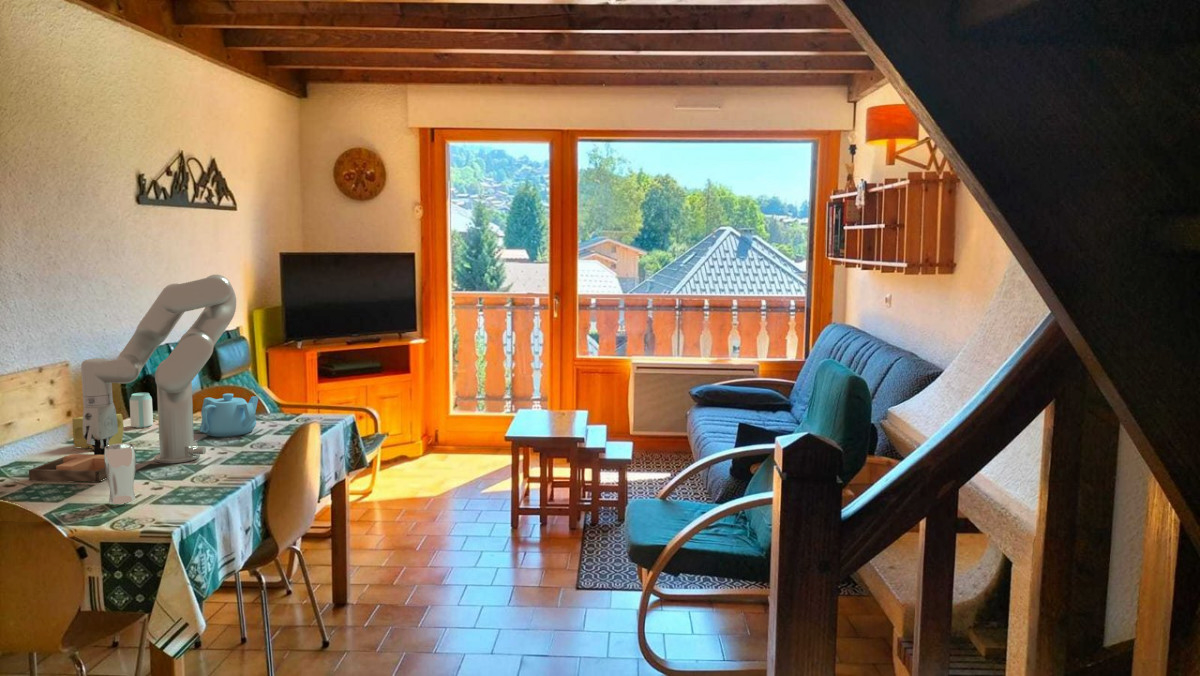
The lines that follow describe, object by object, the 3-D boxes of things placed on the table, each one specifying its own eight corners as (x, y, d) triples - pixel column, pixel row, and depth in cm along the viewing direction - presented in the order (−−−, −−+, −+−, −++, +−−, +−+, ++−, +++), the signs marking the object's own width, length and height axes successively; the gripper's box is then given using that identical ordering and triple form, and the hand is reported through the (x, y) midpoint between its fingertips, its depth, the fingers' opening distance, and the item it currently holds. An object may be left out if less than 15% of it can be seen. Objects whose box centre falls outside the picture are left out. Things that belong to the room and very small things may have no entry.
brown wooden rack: (132, 467, 246) (131, 457, 245) (99, 482, 230) (98, 471, 230) (66, 465, 246) (65, 455, 246) (29, 480, 231) (28, 470, 230)
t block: (118, 468, 244) (117, 455, 244) (88, 480, 231) (87, 467, 231) (73, 466, 245) (72, 453, 245) (41, 479, 232) (40, 465, 232)
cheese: (100, 450, 264) (98, 420, 263) (71, 448, 267) (69, 418, 265) (124, 443, 275) (123, 413, 273) (97, 441, 277) (95, 411, 276)
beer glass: (143, 498, 216) (140, 442, 215) (128, 507, 210) (125, 449, 208) (116, 498, 216) (113, 442, 214) (100, 507, 209) (97, 449, 208)
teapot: (253, 436, 286) (252, 397, 284) (193, 439, 280) (191, 399, 279) (259, 425, 304) (258, 388, 302) (202, 428, 298) (201, 390, 297)
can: (131, 425, 300) (130, 392, 299) (153, 423, 303) (152, 391, 302) (130, 429, 294) (128, 396, 292) (152, 427, 297) (150, 394, 295)
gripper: (94, 405, 237) (98, 467, 239) (125, 395, 252) (128, 454, 254) (68, 405, 237) (72, 466, 239) (101, 395, 252) (104, 453, 254)
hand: (101, 460), depth 247 cm, fingers closed
